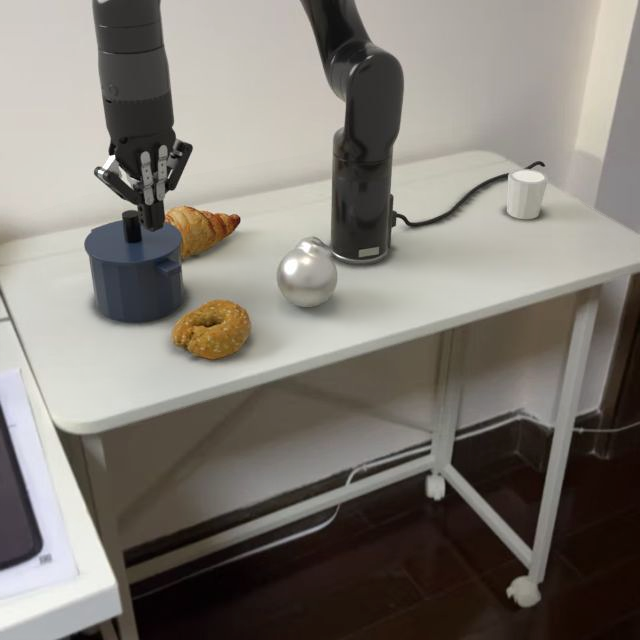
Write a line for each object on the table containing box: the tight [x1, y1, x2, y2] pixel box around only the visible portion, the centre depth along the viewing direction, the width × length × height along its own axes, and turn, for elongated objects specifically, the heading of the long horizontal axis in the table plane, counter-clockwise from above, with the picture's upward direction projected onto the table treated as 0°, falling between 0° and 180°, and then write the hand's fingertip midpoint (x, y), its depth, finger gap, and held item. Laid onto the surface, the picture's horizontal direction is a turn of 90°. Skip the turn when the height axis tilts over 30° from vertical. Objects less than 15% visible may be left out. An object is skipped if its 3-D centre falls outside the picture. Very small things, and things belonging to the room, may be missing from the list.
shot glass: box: [506, 168, 549, 220], centre depth 153 cm, size 7×7×7 cm
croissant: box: [165, 205, 242, 260], centre depth 141 cm, size 21×10×8 cm, turn 123°
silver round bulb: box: [276, 235, 338, 308], centre depth 126 cm, size 9×10×10 cm
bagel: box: [170, 299, 252, 360], centre depth 118 cm, size 10×11×5 cm
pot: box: [88, 224, 185, 324], centre depth 126 cm, size 13×18×10 cm
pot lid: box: [83, 209, 182, 266], centre depth 122 cm, size 14×14×5 cm
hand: (153, 228), depth 104 cm, fingers closed
